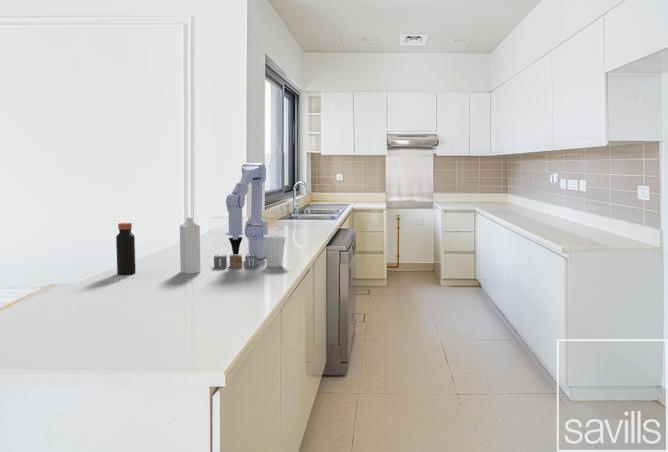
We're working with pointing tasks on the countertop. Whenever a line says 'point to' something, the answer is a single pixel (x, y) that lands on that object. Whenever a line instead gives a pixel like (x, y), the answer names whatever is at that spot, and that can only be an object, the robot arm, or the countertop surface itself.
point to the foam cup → (274, 249)
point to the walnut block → (236, 261)
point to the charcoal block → (220, 261)
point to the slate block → (250, 260)
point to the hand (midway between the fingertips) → (235, 254)
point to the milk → (190, 247)
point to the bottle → (125, 250)
